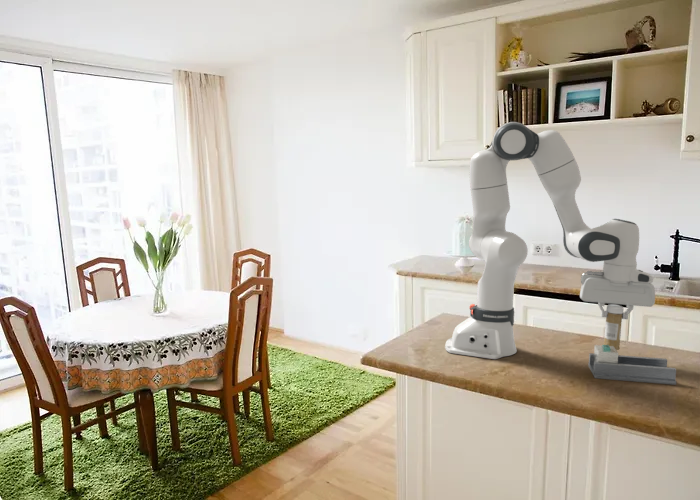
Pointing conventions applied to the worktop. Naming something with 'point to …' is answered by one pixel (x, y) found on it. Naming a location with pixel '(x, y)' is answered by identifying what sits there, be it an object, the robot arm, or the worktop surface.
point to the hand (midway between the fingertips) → (614, 317)
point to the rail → (629, 367)
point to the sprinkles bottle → (613, 326)
